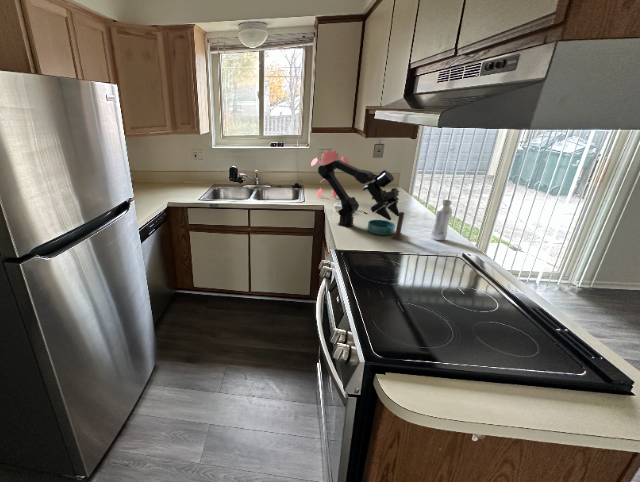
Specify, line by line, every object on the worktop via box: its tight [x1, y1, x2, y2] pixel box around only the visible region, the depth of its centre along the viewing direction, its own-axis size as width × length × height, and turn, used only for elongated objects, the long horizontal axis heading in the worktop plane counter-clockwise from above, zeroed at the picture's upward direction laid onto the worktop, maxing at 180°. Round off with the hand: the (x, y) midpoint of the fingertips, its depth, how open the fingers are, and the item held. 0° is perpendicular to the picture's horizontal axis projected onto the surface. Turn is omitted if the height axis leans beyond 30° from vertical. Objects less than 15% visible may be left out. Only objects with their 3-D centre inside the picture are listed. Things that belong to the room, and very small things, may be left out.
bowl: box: [366, 219, 396, 236], centre depth 170 cm, size 13×13×4 cm
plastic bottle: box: [430, 199, 453, 241], centre depth 156 cm, size 6×7×20 cm
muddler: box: [392, 211, 405, 241], centre depth 159 cm, size 4×4×14 cm
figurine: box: [310, 149, 350, 202], centre depth 227 cm, size 15×26×35 cm, turn 76°
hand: (394, 217), depth 159 cm, fingers open, 9 cm apart
